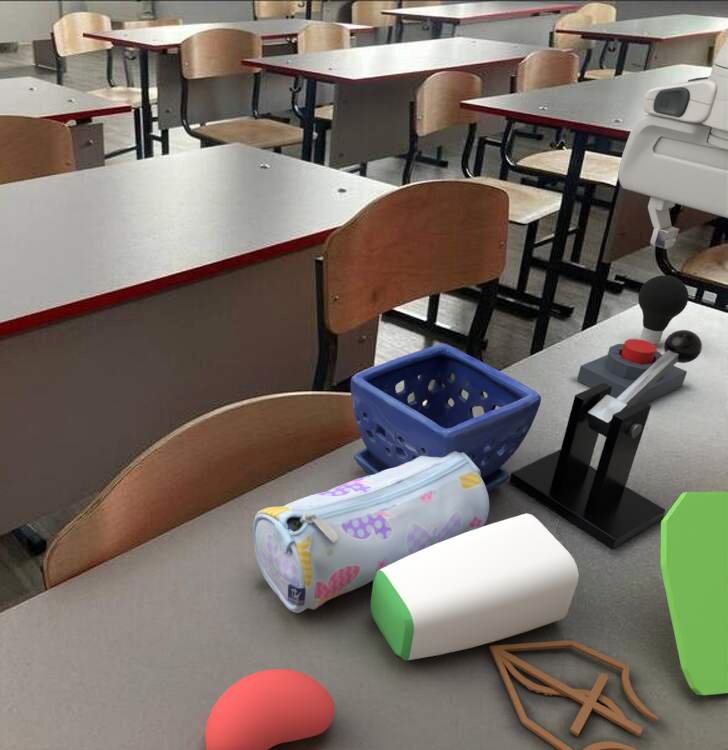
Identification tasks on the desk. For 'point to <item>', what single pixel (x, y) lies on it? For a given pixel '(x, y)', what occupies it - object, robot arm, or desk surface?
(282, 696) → the stress ball
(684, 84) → the robot arm
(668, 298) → the light bulb
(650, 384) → the switch lever
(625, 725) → the emblem
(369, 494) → the pencil case
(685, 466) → the desk surface
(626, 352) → the button
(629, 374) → the control box
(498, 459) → the flower pot
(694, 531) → the green stand with toy
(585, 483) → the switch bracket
